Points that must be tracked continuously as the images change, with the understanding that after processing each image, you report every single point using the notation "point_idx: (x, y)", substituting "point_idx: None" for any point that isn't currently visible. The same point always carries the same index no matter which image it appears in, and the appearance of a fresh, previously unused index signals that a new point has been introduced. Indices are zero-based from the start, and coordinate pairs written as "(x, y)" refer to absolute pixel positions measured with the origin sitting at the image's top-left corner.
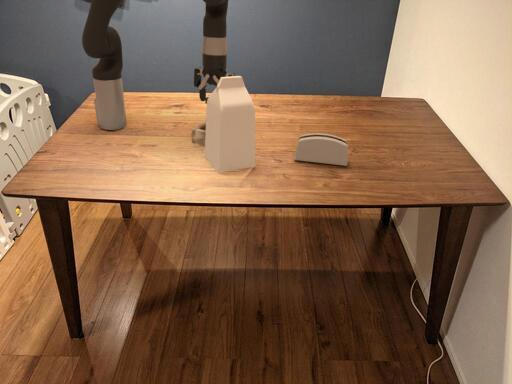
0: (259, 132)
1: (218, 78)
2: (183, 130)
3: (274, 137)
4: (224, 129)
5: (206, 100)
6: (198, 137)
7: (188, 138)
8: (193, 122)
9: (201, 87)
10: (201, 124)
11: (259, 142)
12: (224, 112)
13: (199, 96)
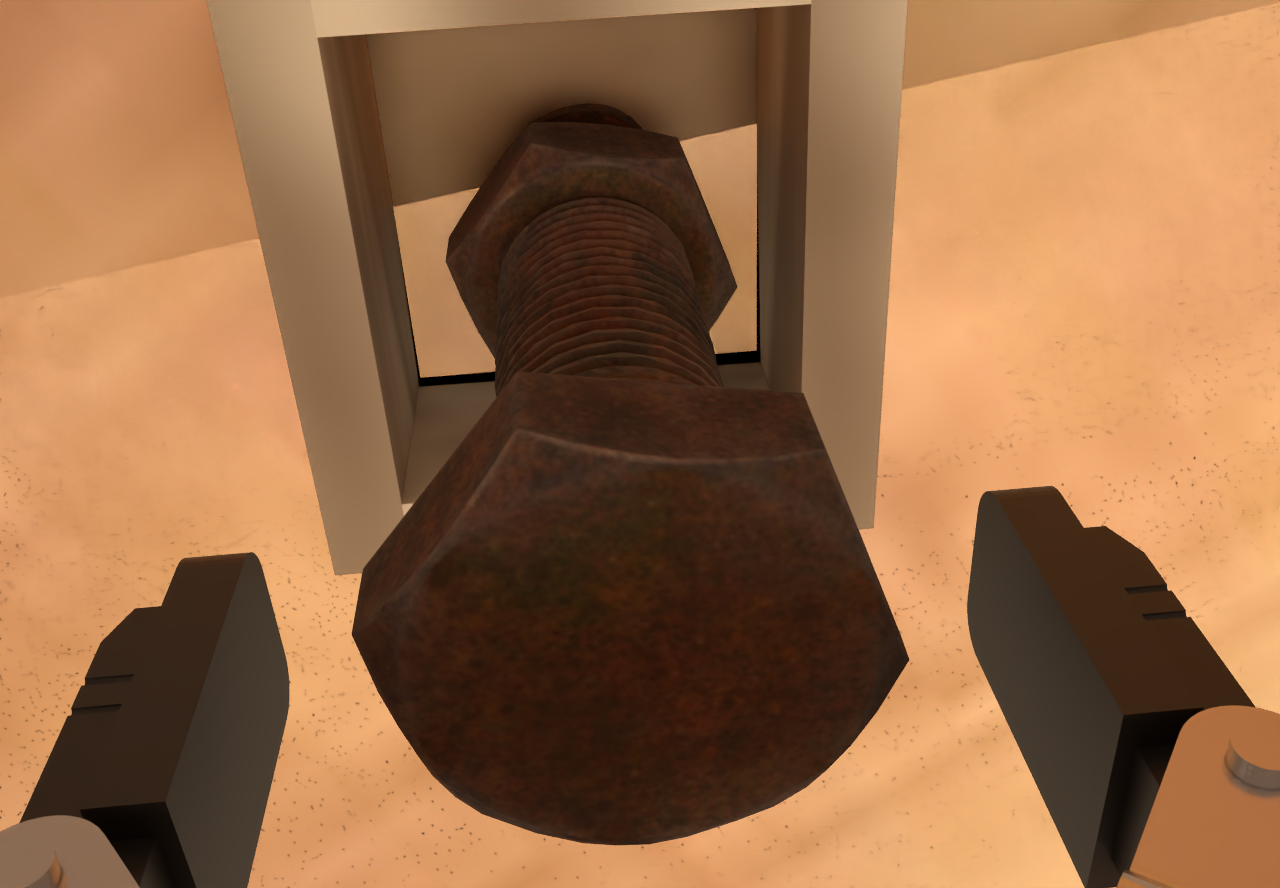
0: (285, 792)
1: None
2: (1245, 239)
3: (17, 779)
4: None
5: (771, 440)
6: None
7: (1007, 6)
8: (1243, 562)
9: (1205, 793)
10: (881, 249)
11: (23, 547)
12: None
13: (1153, 568)
